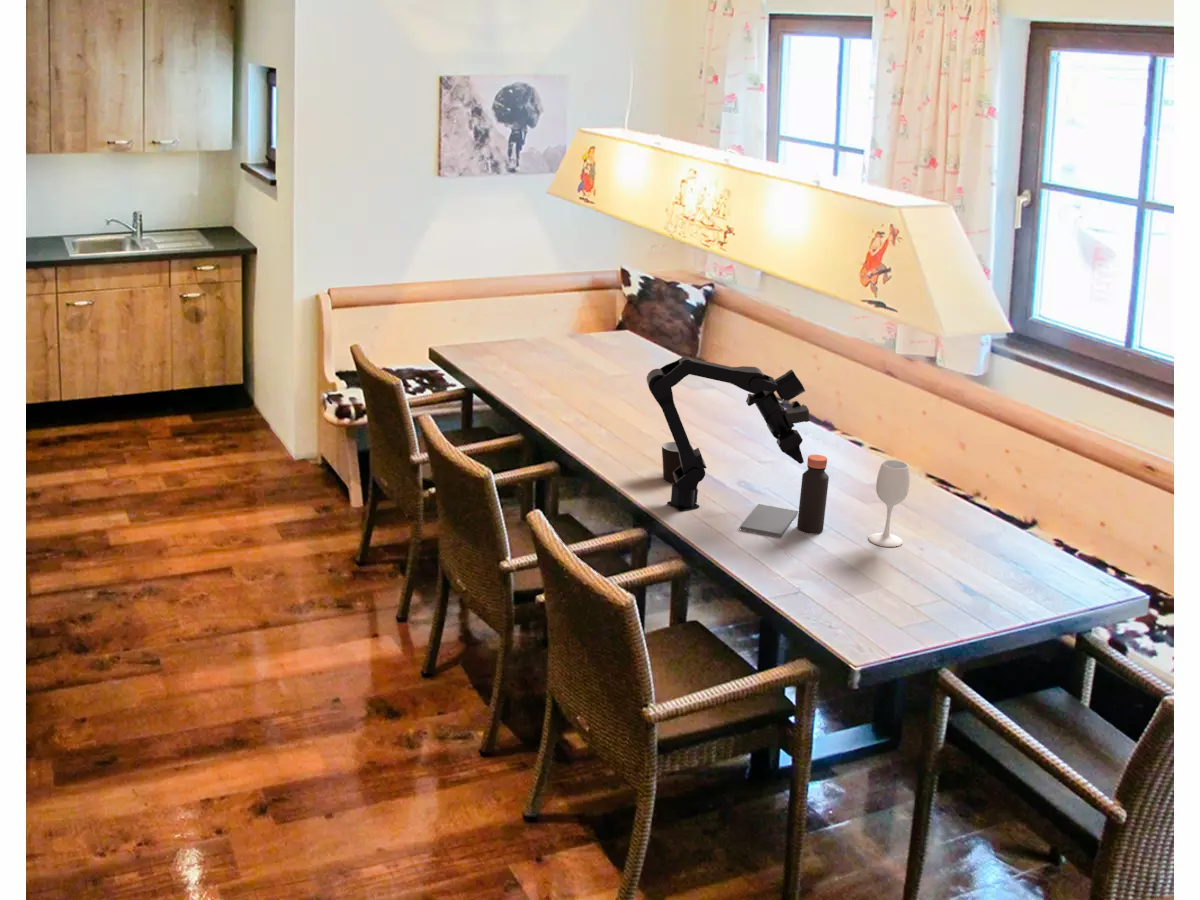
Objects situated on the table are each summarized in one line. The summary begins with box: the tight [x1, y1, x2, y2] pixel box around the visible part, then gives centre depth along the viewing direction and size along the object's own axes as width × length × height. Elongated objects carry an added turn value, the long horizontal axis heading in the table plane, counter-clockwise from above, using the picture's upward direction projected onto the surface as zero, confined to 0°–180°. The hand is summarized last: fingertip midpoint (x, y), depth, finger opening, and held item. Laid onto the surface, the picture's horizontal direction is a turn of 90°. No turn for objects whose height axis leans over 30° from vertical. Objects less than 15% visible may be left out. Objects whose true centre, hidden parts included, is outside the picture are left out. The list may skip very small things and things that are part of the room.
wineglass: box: [868, 459, 911, 548], centre depth 332 cm, size 9×9×21 cm
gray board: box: [739, 503, 799, 538], centre depth 343 cm, size 11×18×1 cm, turn 159°
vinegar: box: [796, 454, 830, 535], centre depth 337 cm, size 7×7×20 cm
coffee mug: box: [661, 441, 681, 484], centre depth 370 cm, size 12×9×10 cm
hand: (798, 457), depth 349 cm, fingers open, 9 cm apart
